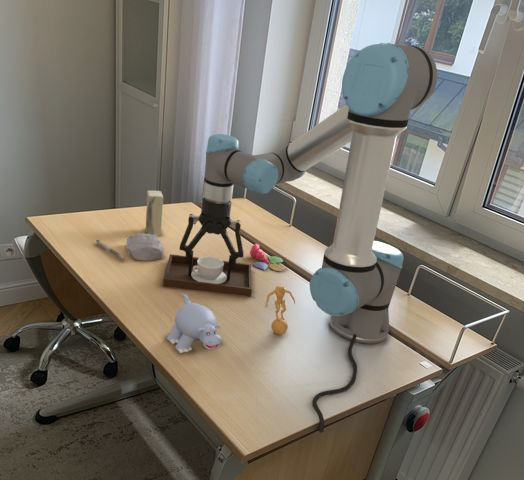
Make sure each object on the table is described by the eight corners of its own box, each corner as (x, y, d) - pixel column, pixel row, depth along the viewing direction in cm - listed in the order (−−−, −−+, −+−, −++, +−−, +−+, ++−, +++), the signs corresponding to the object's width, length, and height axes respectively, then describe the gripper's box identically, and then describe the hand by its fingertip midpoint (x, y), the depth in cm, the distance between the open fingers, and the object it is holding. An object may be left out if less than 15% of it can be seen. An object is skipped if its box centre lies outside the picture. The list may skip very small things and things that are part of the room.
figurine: (267, 339, 131) (275, 296, 125) (256, 326, 136) (263, 283, 129) (296, 335, 135) (305, 292, 128) (284, 322, 139) (293, 280, 133)
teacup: (217, 268, 159) (219, 253, 156) (232, 283, 152) (234, 268, 149) (185, 271, 154) (186, 255, 152) (199, 287, 147) (200, 272, 145)
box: (145, 229, 175) (146, 189, 168) (159, 229, 176) (160, 190, 169) (147, 236, 171) (148, 195, 164) (161, 236, 172) (163, 196, 165)
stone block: (132, 266, 156) (166, 259, 159) (128, 251, 153) (163, 243, 156) (125, 250, 165) (157, 243, 168) (121, 235, 162) (155, 228, 165)
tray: (250, 296, 148) (251, 289, 147) (162, 286, 146) (163, 278, 144) (250, 271, 161) (251, 264, 160) (169, 261, 158) (170, 254, 157)
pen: (97, 242, 162) (97, 238, 161) (125, 261, 154) (125, 256, 154) (94, 243, 161) (94, 239, 160) (122, 262, 154) (122, 257, 153)
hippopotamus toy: (191, 367, 118) (195, 330, 112) (160, 332, 127) (162, 296, 122) (233, 356, 124) (239, 320, 118) (200, 323, 133) (204, 288, 128)
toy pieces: (243, 265, 164) (245, 251, 161) (252, 251, 173) (254, 238, 170) (281, 274, 162) (284, 261, 160) (289, 260, 171) (291, 247, 169)
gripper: (260, 199, 145) (249, 275, 157) (174, 188, 142) (169, 265, 155) (260, 209, 139) (249, 287, 151) (171, 197, 136) (166, 277, 149)
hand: (209, 276), depth 153 cm, fingers closed on teacup, 10 cm apart
